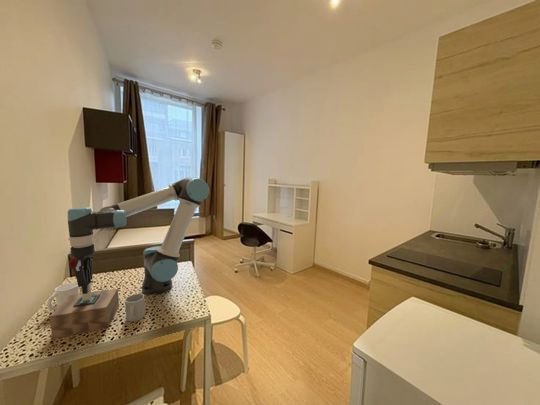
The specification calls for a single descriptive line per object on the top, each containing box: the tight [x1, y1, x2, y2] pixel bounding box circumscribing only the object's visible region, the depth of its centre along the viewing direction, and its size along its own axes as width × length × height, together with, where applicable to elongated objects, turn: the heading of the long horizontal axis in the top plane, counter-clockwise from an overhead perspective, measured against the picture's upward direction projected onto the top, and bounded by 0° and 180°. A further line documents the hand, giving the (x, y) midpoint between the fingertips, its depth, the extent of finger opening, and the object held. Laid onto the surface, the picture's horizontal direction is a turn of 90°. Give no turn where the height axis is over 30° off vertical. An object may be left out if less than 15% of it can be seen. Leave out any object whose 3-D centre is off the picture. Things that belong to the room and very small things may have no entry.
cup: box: [124, 293, 146, 323], centre depth 97 cm, size 7×10×9 cm
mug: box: [46, 281, 81, 311], centre depth 104 cm, size 12×8×10 cm
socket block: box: [49, 288, 120, 339], centre depth 96 cm, size 18×16×10 cm
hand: (87, 299), depth 95 cm, fingers closed
